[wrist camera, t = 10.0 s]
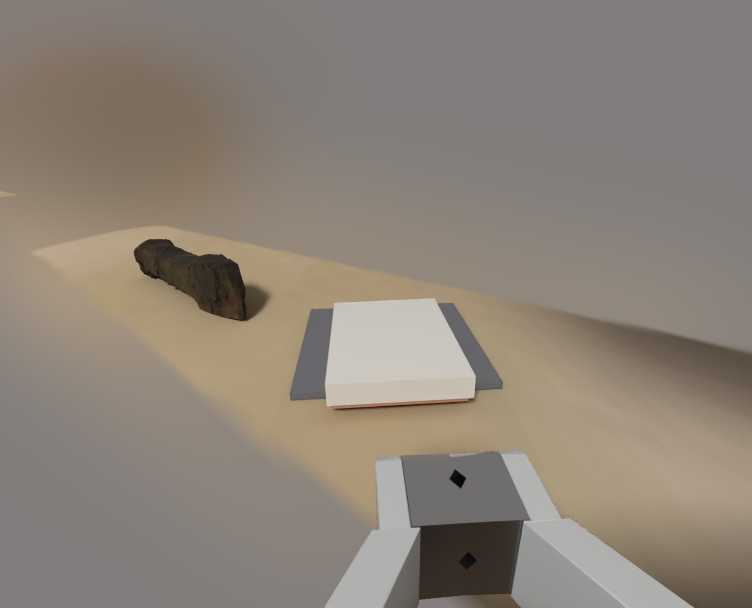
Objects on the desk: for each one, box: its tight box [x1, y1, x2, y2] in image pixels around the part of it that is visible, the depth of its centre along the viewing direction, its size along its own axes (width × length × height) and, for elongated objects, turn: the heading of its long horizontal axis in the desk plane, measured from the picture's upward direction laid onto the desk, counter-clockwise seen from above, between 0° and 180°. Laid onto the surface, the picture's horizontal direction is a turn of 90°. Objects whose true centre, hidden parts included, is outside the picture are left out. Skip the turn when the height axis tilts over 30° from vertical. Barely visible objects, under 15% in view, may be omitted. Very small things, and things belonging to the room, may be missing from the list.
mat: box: [290, 303, 503, 400], centre depth 25 cm, size 11×11×1 cm
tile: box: [325, 299, 476, 409], centre depth 23 cm, size 7×2×10 cm
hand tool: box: [134, 239, 246, 320], centre depth 35 cm, size 19×4×5 cm, turn 42°
